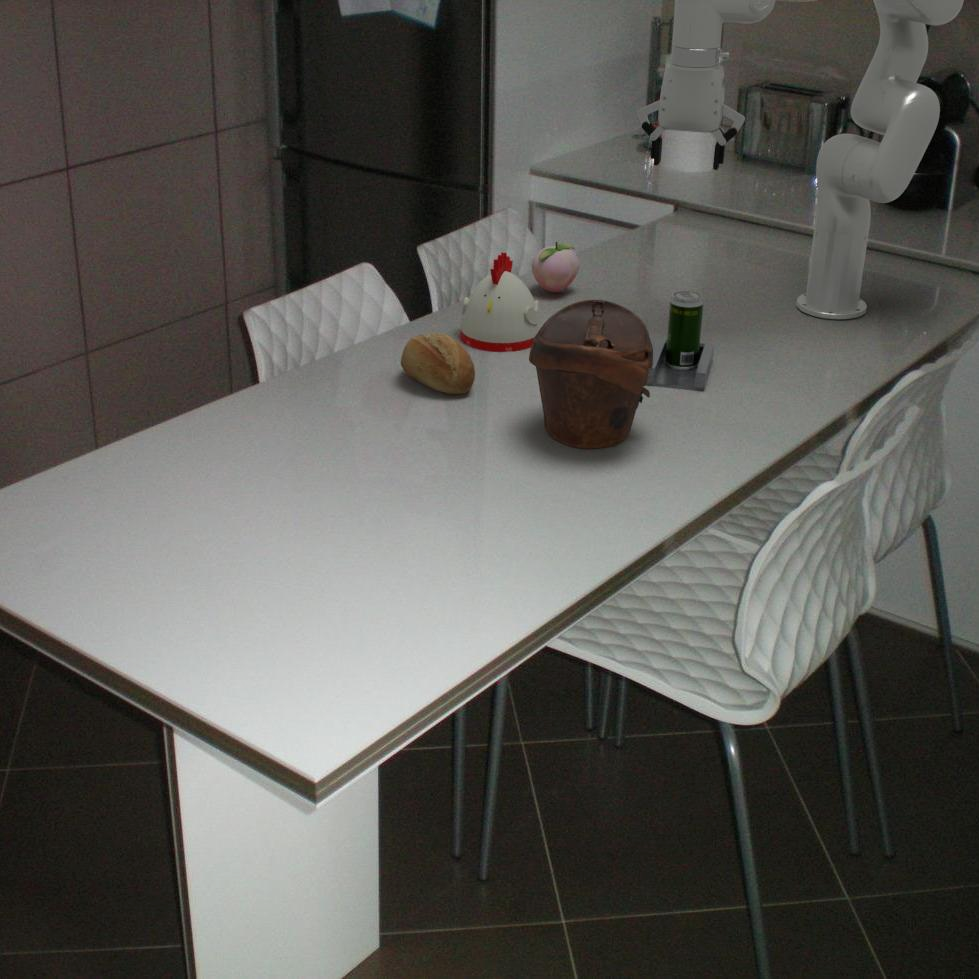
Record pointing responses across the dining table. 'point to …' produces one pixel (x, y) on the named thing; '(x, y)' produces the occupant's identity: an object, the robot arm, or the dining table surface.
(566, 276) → the decorative fruit
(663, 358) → the grey tray
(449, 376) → the bread roll
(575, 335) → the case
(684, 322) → the beer can
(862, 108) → the robot arm
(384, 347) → the dining table surface
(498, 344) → the kitchen timer
